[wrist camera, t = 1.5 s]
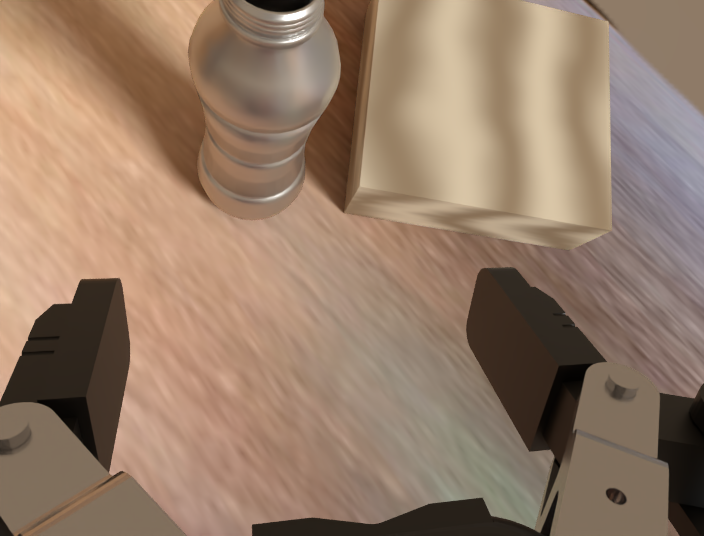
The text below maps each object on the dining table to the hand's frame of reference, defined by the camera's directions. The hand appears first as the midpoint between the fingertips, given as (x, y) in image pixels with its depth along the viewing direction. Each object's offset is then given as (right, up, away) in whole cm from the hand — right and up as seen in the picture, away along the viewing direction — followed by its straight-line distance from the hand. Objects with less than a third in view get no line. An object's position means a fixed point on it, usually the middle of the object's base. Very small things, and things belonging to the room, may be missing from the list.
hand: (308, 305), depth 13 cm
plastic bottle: (-6, +7, +26) cm, 28 cm away
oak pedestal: (+9, +11, +31) cm, 34 cm away
